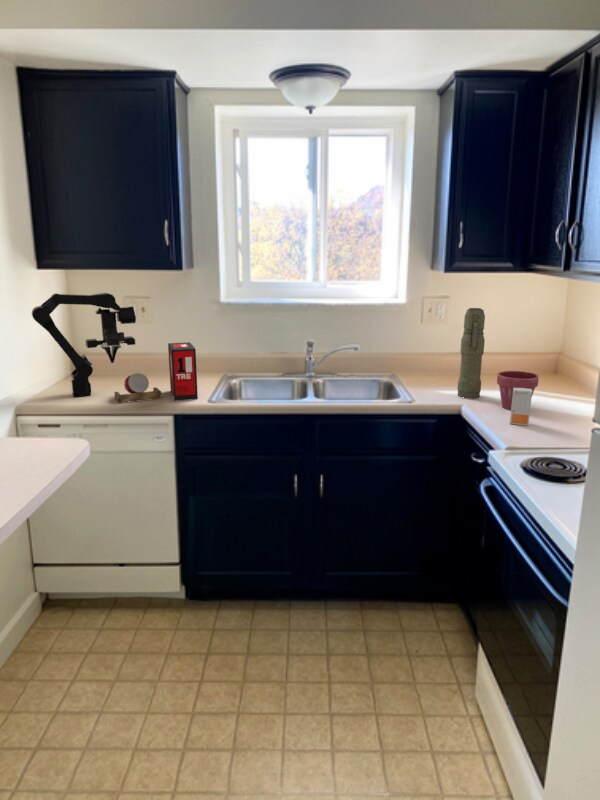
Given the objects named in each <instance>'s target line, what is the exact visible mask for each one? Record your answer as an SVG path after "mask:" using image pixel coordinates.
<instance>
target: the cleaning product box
mask: <svg viewBox="0 0 600 800" xmlns="http://www.w3.org/2000/svg"><path fill="white" fill-rule="evenodd" d="M167 347H168V366H169V383H170V385H169V387H170V392H171V394H172V397H174V398H173V400H174V401H175V402H176V401H177V400H178V401H188V400H189V401H191V400H198V399H199V396H198V394H199V393H198V377H197V376H198V375H197V373H198V371H197V355H196V354H197V351H196V347H195V346H194V345H193V344H192V343H191V342H170V343H168V344H167ZM190 399H191V400H190Z"/></svg>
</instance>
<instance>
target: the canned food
mask: <svg viewBox="0 0 600 800" xmlns="http://www.w3.org/2000/svg"><path fill="white" fill-rule="evenodd" d="M123 385H124V389H125V390H126V391H127V392H128V394H132V393H141V392H147V390H148V388H149V386H150V381H149V378H148V376H146V375H145V374H144V373H142V372H135V373H132V374H130V375H128V376H127V377H126V378H125V380H124V383H123Z"/></svg>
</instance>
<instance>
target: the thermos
mask: <svg viewBox="0 0 600 800" xmlns="http://www.w3.org/2000/svg"><path fill="white" fill-rule="evenodd" d="M484 311H485V310H484V309H482V308H481V307H480V308H479V307H469V308H467V309H466V312H465V314H464V321H463V335H462V337H461V340H460V350H459V351H460V355H461V357H460V369H459V378H458V380H457V395H458V396H460V397H464V398H463V399H465V398H477V399H479V398H481V397H480V395H481V390H482V380H481V375H482V372H481V371H482V362H483V355H484V350H485V336H484V333H485V332H484V330H485V322H486V321H485V320H486V315H485V312H484ZM458 396H457V397H458ZM460 397H459V398H460Z"/></svg>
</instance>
